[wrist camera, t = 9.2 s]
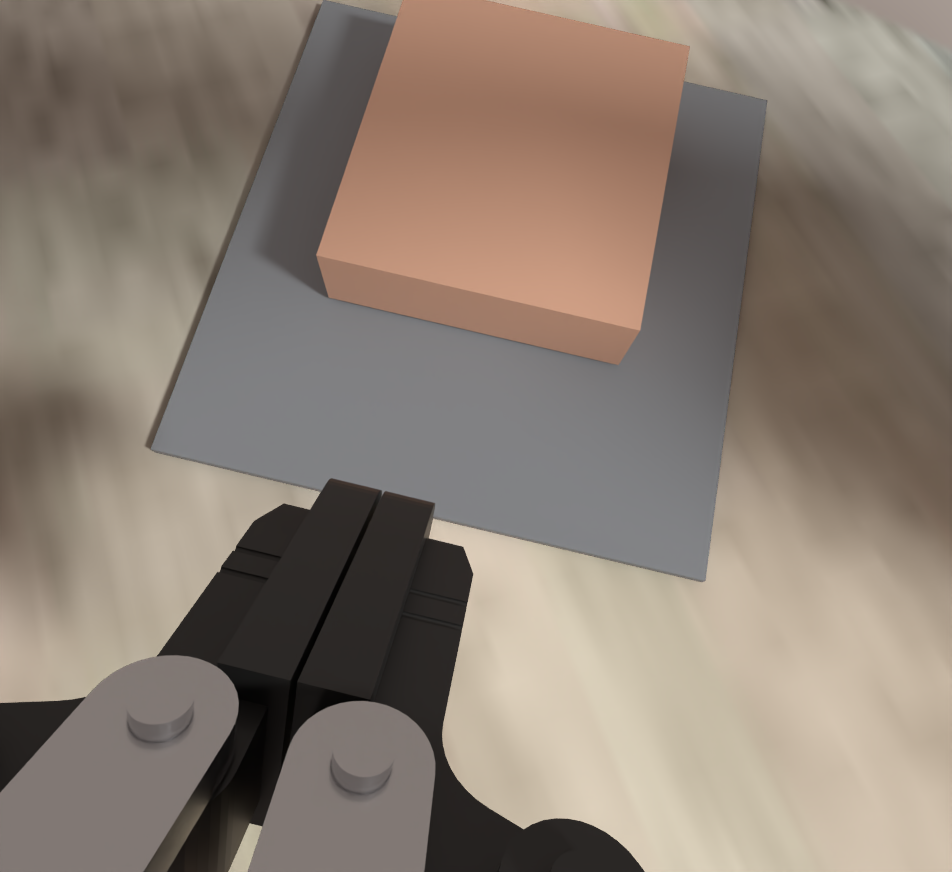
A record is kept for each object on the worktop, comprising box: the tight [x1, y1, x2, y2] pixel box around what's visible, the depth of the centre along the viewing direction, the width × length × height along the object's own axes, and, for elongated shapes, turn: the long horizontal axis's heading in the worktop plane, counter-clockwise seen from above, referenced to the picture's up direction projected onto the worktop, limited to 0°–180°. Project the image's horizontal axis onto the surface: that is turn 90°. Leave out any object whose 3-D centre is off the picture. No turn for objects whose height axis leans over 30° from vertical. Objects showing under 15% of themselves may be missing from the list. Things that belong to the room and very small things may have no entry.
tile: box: [316, 0, 690, 365], centre depth 22 cm, size 9×3×10 cm
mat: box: [151, 0, 767, 582], centre depth 23 cm, size 16×17×1 cm
